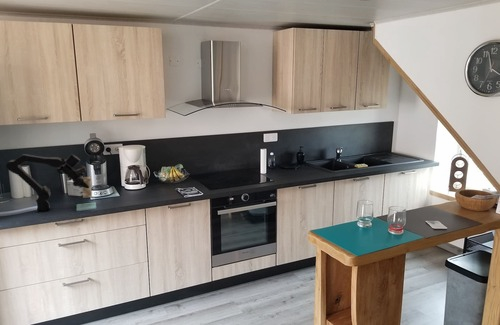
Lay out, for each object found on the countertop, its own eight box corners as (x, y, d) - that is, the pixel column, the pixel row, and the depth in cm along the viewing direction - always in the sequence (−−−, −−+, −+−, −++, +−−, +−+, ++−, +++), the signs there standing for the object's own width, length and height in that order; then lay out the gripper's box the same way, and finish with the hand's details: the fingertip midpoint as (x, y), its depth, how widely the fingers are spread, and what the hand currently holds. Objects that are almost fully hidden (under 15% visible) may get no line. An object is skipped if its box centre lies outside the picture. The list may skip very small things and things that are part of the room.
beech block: (83, 197, 256) (81, 178, 254) (83, 195, 261) (82, 177, 258) (91, 197, 257) (89, 178, 255) (91, 195, 262) (90, 176, 260)
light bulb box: (86, 193, 288) (85, 179, 286) (80, 196, 282) (78, 182, 280) (74, 192, 291) (72, 178, 289) (67, 195, 285) (66, 181, 282)
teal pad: (76, 211, 251) (76, 209, 251) (76, 205, 261) (76, 204, 261) (96, 208, 255) (96, 207, 255) (95, 203, 266) (95, 202, 266)
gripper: (77, 165, 244) (96, 181, 250) (79, 160, 262) (98, 174, 268) (64, 178, 244) (84, 193, 249) (67, 172, 261) (86, 186, 267)
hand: (88, 186), depth 258 cm, fingers closed on beech block, 5 cm apart
